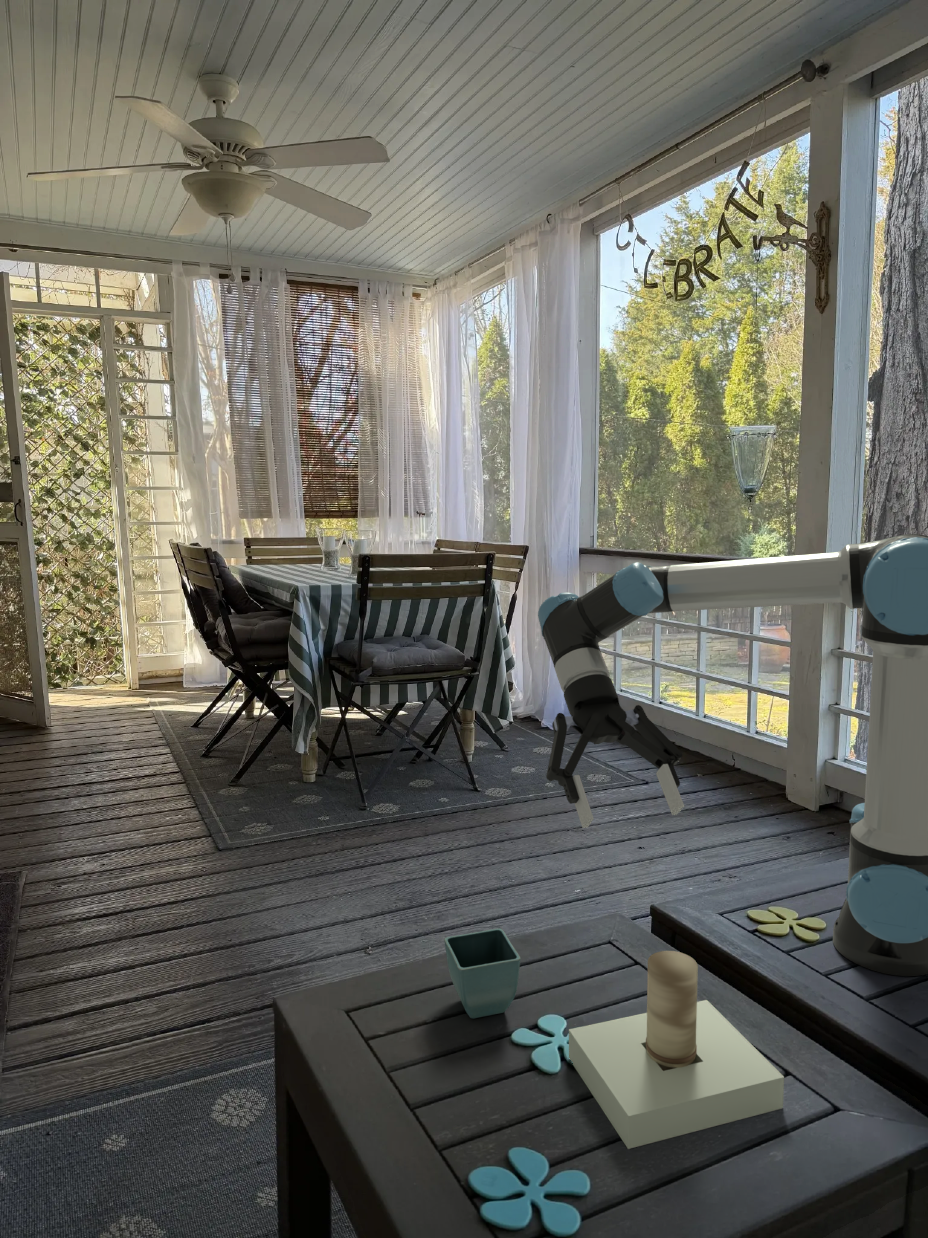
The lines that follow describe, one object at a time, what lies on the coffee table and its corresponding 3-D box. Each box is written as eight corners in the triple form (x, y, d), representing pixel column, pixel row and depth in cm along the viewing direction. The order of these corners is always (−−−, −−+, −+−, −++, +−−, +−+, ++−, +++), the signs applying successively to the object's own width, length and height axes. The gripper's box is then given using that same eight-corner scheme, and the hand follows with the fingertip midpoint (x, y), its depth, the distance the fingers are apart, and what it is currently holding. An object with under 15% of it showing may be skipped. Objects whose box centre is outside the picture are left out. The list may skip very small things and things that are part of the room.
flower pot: (460, 1031, 115) (459, 969, 114) (444, 995, 123) (443, 936, 122) (522, 1019, 117) (521, 958, 116) (502, 984, 126) (501, 927, 124)
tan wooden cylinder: (679, 1057, 108) (681, 947, 106) (705, 1088, 102) (708, 972, 100) (636, 1067, 106) (637, 955, 104) (661, 1100, 101) (663, 982, 98)
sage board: (706, 1027, 115) (706, 1000, 114) (782, 1108, 100) (784, 1077, 99) (568, 1058, 109) (568, 1029, 108) (628, 1149, 94) (628, 1116, 93)
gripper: (652, 691, 134) (703, 817, 122) (502, 706, 127) (541, 840, 115) (670, 665, 128) (725, 793, 117) (514, 678, 121) (556, 817, 109)
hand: (634, 817), depth 116 cm, fingers open, 13 cm apart
